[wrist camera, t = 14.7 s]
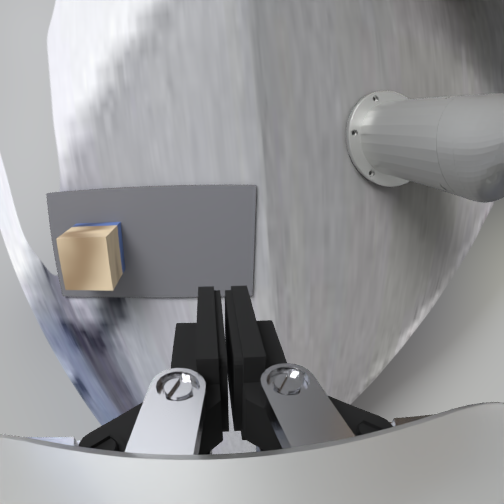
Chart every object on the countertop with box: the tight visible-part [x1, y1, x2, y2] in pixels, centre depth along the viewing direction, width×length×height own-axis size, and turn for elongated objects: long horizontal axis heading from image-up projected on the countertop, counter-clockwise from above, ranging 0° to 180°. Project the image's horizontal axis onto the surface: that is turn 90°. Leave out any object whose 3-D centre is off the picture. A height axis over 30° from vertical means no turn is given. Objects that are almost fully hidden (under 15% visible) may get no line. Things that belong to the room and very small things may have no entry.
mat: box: [47, 185, 256, 297], centre depth 37 cm, size 26×14×1 cm, turn 89°
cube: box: [56, 222, 125, 291], centre depth 33 cm, size 6×6×6 cm
